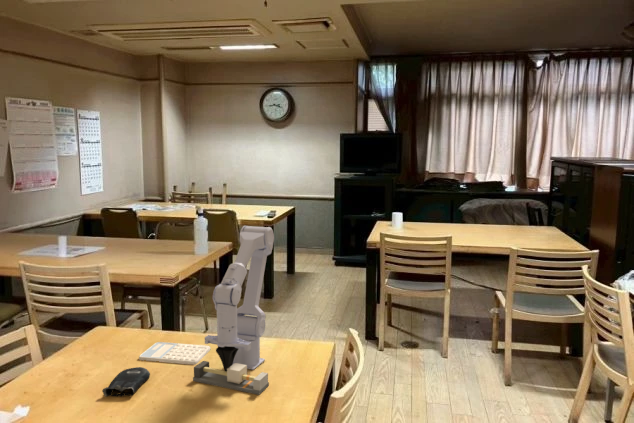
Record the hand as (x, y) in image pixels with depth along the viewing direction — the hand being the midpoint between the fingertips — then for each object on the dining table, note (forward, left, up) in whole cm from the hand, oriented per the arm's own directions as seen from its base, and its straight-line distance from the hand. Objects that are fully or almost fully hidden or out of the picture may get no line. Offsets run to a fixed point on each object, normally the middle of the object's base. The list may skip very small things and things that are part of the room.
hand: (227, 370), depth 150 cm
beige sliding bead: (+3, 0, -2) cm, 4 cm away
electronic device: (-26, -12, -4) cm, 29 cm away
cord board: (+1, 0, -4) cm, 4 cm away
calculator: (-27, +11, -5) cm, 30 cm away
